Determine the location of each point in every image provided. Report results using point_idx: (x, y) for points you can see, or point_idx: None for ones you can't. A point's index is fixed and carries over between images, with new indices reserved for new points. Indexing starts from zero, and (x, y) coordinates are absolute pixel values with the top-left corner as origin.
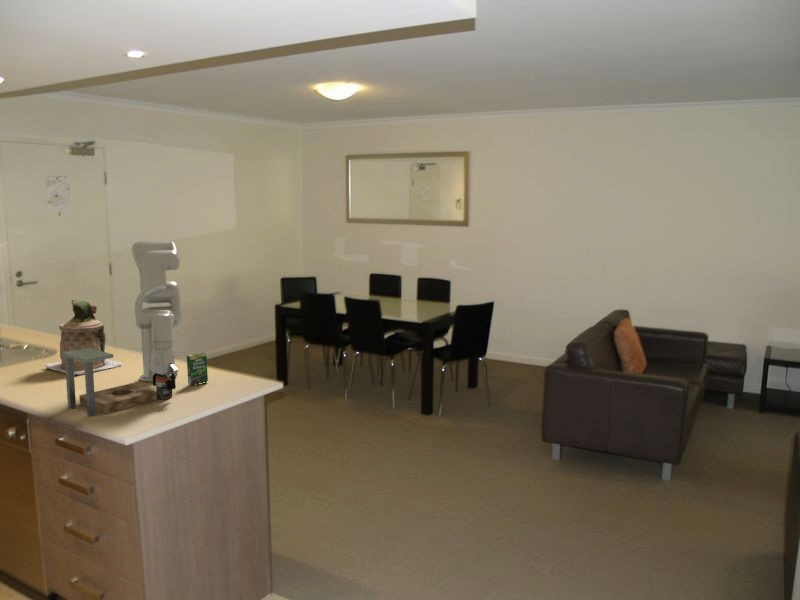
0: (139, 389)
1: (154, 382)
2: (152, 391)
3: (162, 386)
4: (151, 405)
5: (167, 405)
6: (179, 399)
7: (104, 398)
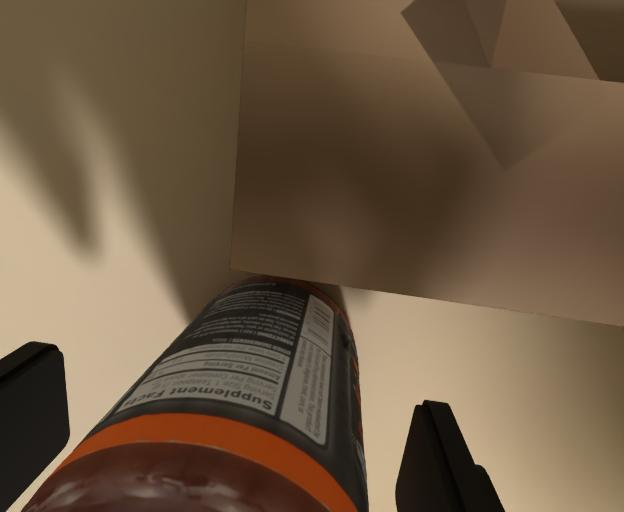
0: (574, 214)
1: (429, 449)
2: (286, 243)
3: (149, 369)
4: (148, 69)
5: (20, 172)
6: (111, 368)
7: None
